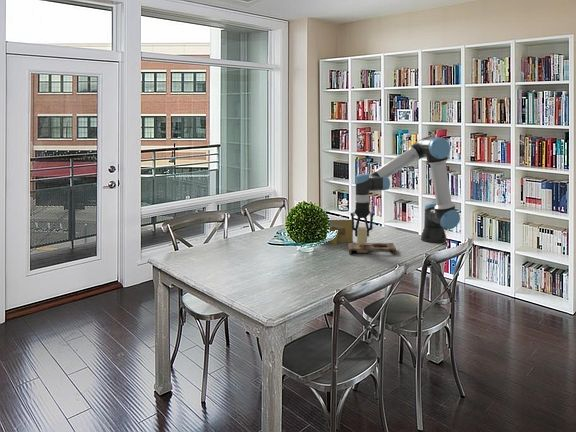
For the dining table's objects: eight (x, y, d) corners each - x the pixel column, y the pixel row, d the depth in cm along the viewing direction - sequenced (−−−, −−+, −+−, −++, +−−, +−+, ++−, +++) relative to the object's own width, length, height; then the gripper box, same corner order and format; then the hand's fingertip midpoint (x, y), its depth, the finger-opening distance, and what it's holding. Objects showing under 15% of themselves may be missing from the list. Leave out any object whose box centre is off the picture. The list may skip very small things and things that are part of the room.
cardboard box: (352, 241, 313) (352, 218, 309) (353, 246, 304) (353, 223, 300) (315, 241, 315) (315, 218, 311) (314, 246, 307) (314, 223, 302)
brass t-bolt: (366, 250, 292) (366, 226, 289) (367, 252, 286) (367, 228, 283) (356, 250, 292) (356, 226, 290) (357, 252, 286) (357, 228, 284)
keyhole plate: (392, 248, 294) (392, 242, 293) (395, 254, 281) (396, 248, 281) (348, 248, 296) (348, 243, 295) (349, 254, 283) (349, 248, 283)
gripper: (347, 202, 280) (347, 243, 285) (378, 202, 279) (377, 243, 284) (346, 200, 288) (346, 240, 292) (376, 200, 287) (376, 240, 291)
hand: (361, 241), depth 288 cm, fingers closed on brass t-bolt, 4 cm apart
